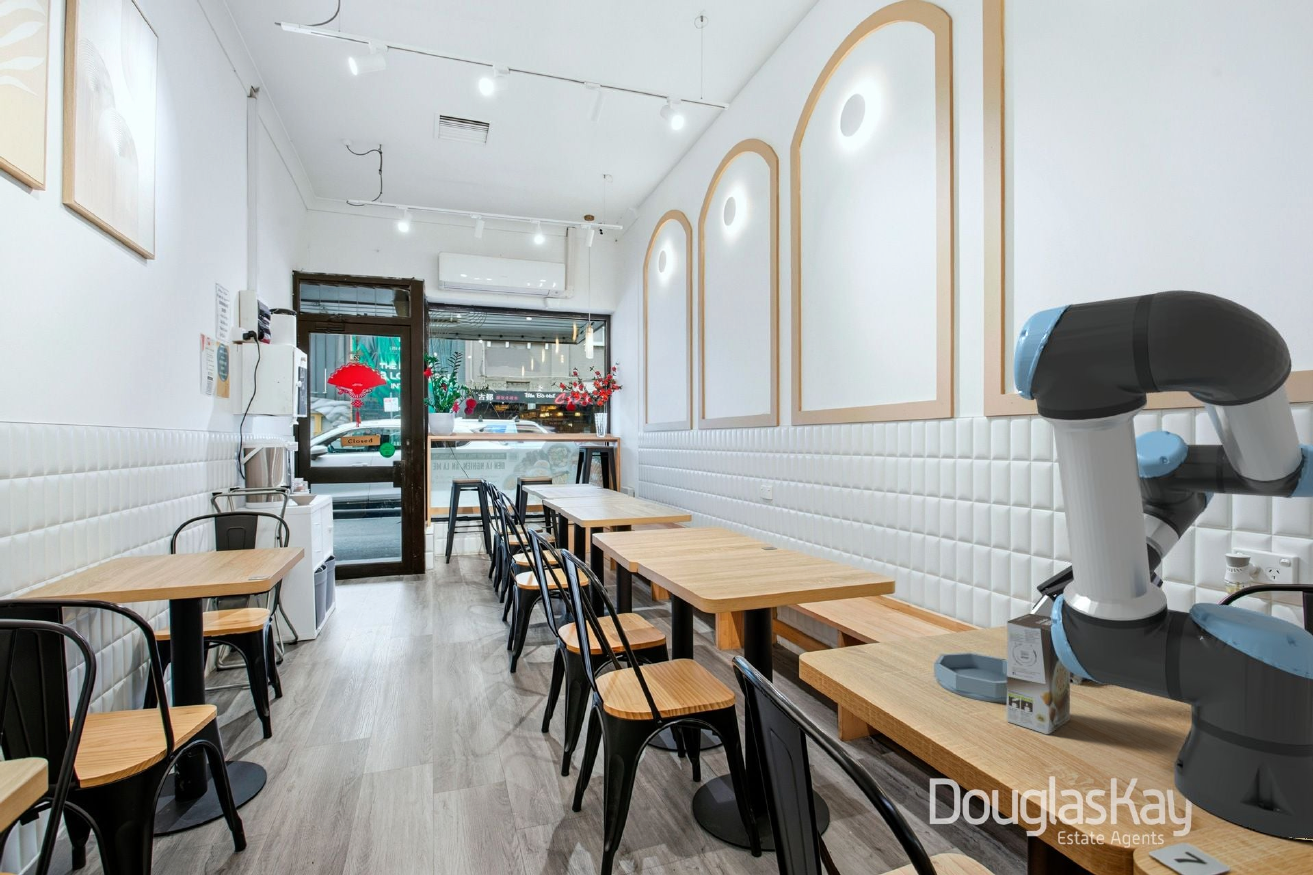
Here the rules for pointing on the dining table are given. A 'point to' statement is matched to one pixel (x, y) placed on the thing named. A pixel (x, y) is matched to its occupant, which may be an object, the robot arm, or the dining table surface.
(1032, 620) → the coffee box
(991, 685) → the slate bowl
